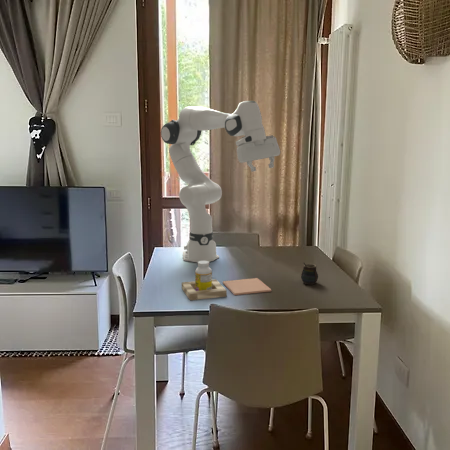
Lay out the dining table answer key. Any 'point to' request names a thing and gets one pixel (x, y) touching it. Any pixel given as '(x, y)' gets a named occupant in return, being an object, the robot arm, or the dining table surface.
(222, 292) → the frame
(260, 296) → the dining table surface
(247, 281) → the terracotta tile
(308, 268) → the mate gourd
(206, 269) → the supplement bottle
